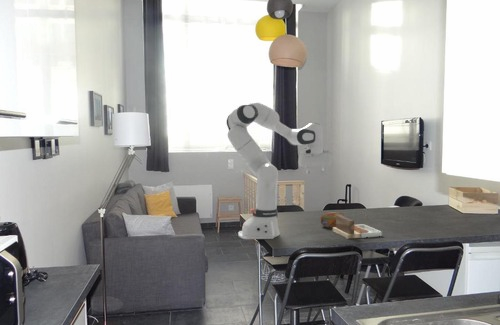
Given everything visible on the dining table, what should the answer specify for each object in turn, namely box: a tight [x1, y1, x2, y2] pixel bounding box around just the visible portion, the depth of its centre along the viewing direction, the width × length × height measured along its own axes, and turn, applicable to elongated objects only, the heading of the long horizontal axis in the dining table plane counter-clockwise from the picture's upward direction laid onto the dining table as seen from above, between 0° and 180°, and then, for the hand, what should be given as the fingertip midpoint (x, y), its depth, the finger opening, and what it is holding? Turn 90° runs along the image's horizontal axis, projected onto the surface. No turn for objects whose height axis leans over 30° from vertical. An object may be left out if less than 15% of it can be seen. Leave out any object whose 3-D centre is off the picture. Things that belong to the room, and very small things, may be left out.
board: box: [332, 227, 362, 240], centre depth 193 cm, size 8×16×2 cm, turn 14°
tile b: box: [355, 226, 369, 233], centre depth 190 cm, size 5×5×2 cm
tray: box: [354, 223, 383, 239], centre depth 195 cm, size 12×18×2 cm, turn 14°
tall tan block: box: [336, 215, 355, 234], centre depth 192 cm, size 3×14×7 cm, turn 14°
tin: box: [319, 211, 346, 228], centre depth 211 cm, size 15×3×8 cm, turn 101°
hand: (315, 173), depth 211 cm, fingers open, 8 cm apart
